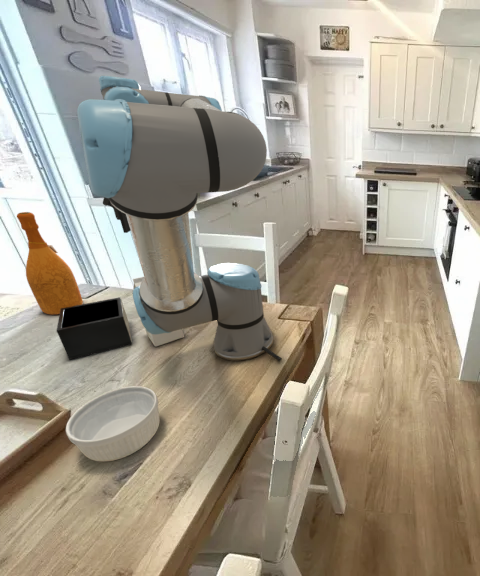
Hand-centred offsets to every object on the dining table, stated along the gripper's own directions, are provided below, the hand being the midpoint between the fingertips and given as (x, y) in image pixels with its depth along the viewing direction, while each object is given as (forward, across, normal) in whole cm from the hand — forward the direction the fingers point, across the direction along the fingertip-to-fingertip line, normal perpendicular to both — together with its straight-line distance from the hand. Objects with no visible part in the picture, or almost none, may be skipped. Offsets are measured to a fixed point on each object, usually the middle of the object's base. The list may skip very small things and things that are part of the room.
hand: (155, 232), depth 90 cm
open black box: (+27, +14, +14) cm, 33 cm away
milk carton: (+26, -2, +13) cm, 30 cm away
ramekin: (+25, -7, +48) cm, 55 cm away
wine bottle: (+28, +33, -6) cm, 44 cm away
